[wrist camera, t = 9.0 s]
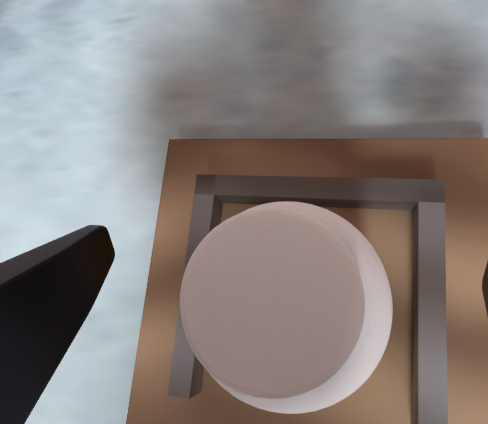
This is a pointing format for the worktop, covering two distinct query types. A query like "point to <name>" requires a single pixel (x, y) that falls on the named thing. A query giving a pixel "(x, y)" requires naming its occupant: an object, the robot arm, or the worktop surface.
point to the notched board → (379, 236)
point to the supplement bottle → (287, 307)
